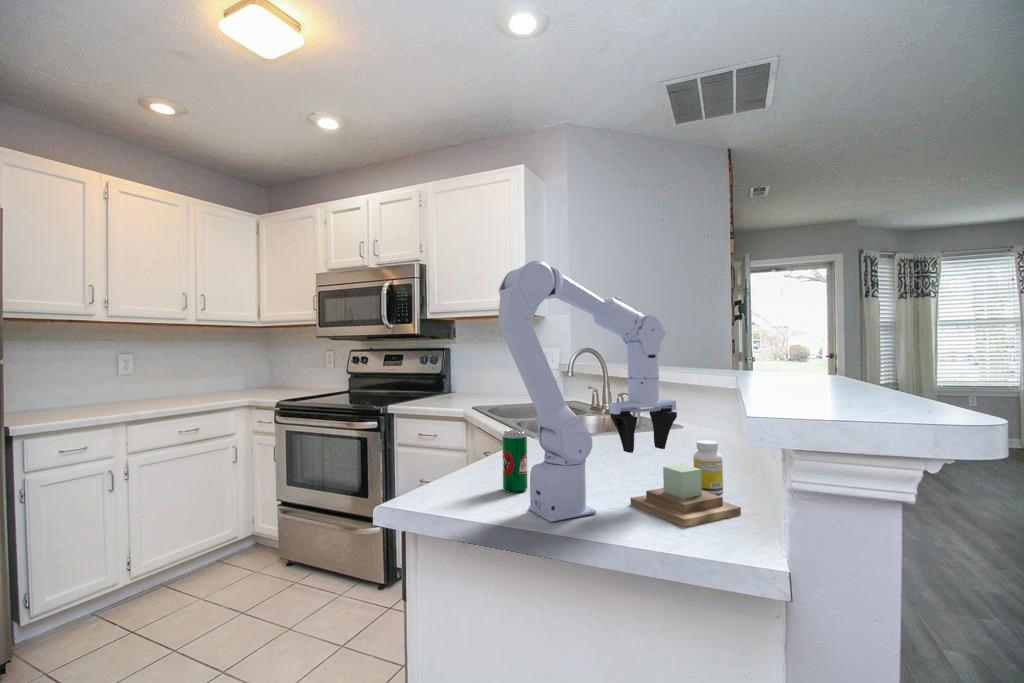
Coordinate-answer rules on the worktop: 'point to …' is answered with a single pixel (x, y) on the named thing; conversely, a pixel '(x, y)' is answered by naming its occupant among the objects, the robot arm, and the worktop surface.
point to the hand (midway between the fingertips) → (644, 450)
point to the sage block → (682, 481)
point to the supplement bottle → (709, 466)
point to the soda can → (514, 461)
